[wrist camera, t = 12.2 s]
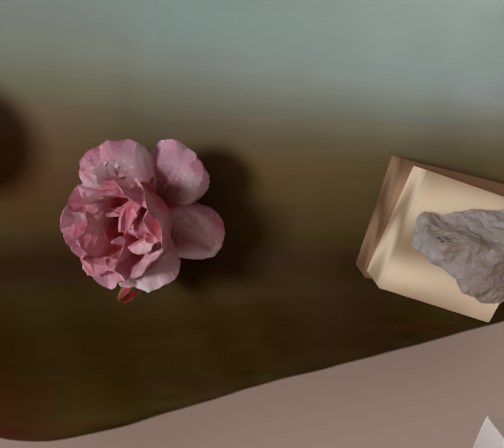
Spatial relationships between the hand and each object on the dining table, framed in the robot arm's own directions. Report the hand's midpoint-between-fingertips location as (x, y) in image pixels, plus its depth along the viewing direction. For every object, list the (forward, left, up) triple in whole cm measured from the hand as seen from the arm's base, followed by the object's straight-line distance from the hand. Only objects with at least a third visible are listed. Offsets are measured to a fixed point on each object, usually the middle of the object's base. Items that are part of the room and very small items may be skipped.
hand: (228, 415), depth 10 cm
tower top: (0, +20, -28) cm, 34 cm away
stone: (0, +19, -24) cm, 31 cm away
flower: (+4, -9, -32) cm, 33 cm away
